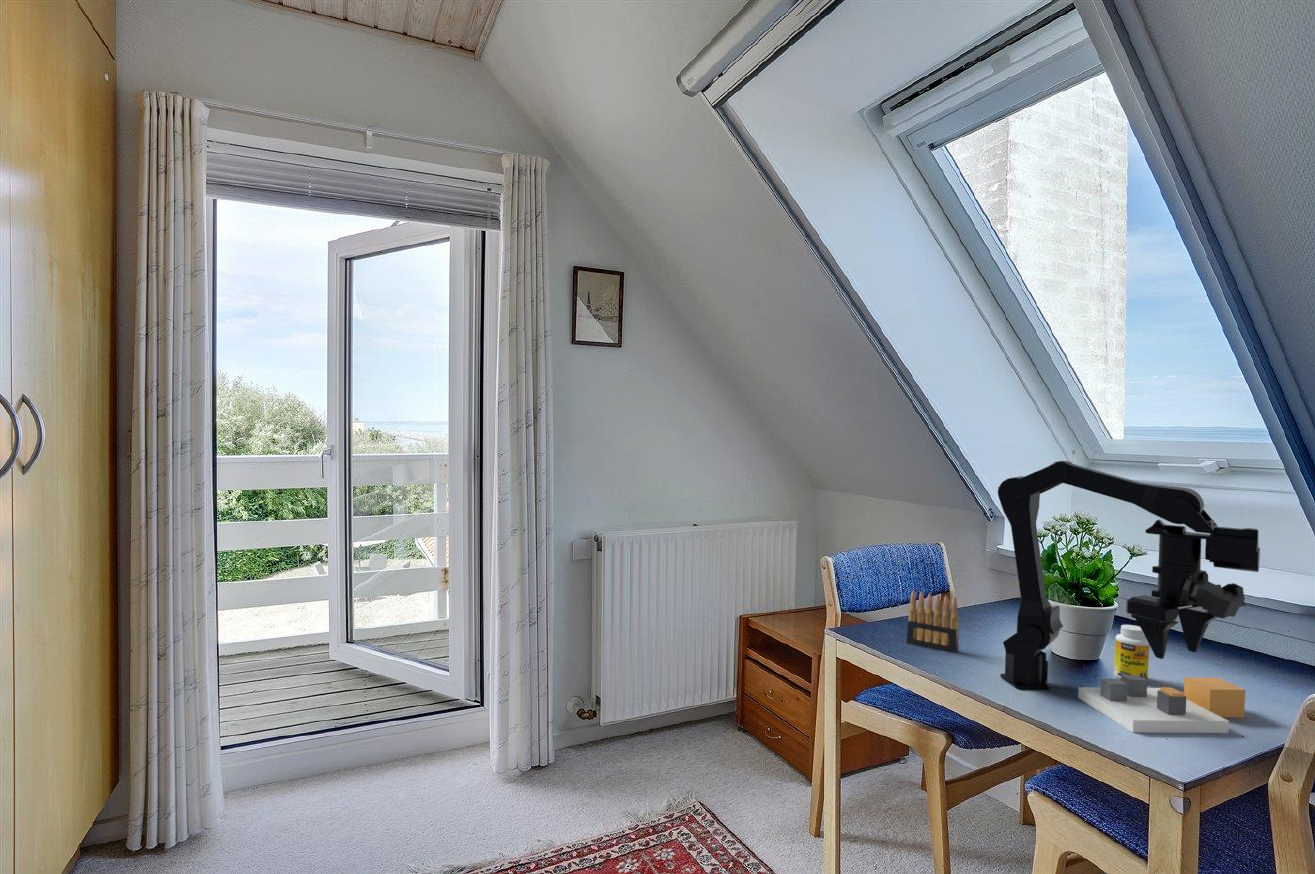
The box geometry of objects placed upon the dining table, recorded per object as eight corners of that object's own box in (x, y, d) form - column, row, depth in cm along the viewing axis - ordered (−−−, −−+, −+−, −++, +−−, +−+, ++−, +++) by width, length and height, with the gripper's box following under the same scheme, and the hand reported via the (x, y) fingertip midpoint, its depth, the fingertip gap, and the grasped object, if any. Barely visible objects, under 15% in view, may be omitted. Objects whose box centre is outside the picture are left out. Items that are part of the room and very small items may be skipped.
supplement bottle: (1114, 680, 138) (1117, 628, 137) (1112, 671, 142) (1115, 621, 142) (1149, 686, 135) (1151, 633, 135) (1146, 677, 140) (1148, 626, 139)
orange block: (1209, 717, 121) (1210, 689, 121) (1183, 703, 127) (1184, 677, 126) (1244, 717, 121) (1245, 689, 121) (1216, 703, 127) (1217, 677, 127)
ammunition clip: (958, 651, 153) (960, 596, 153) (956, 653, 152) (958, 598, 151) (908, 641, 160) (910, 588, 159) (906, 643, 158) (907, 589, 158)
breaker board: (1132, 732, 114) (1134, 701, 114) (1078, 697, 128) (1079, 670, 128) (1228, 733, 115) (1229, 702, 115) (1163, 698, 129) (1165, 671, 129)
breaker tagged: (1168, 714, 117) (1169, 693, 116) (1156, 707, 119) (1157, 687, 119) (1185, 714, 117) (1186, 693, 117) (1173, 707, 119) (1174, 687, 119)
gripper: (1200, 576, 107) (1196, 678, 108) (1267, 568, 115) (1263, 662, 115) (1125, 563, 117) (1122, 655, 118) (1191, 556, 125) (1189, 643, 126)
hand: (1176, 654), depth 119 cm, fingers open, 9 cm apart
